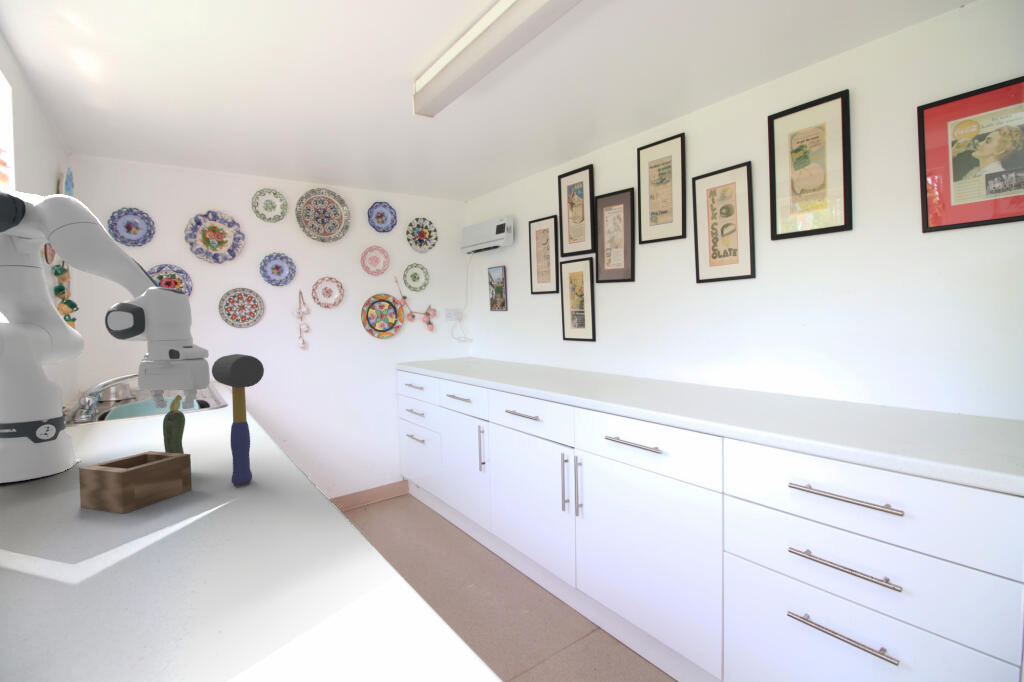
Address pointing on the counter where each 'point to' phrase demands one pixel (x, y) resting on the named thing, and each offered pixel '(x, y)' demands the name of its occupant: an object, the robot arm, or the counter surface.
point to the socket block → (134, 481)
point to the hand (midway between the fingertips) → (174, 408)
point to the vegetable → (174, 427)
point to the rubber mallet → (239, 407)
